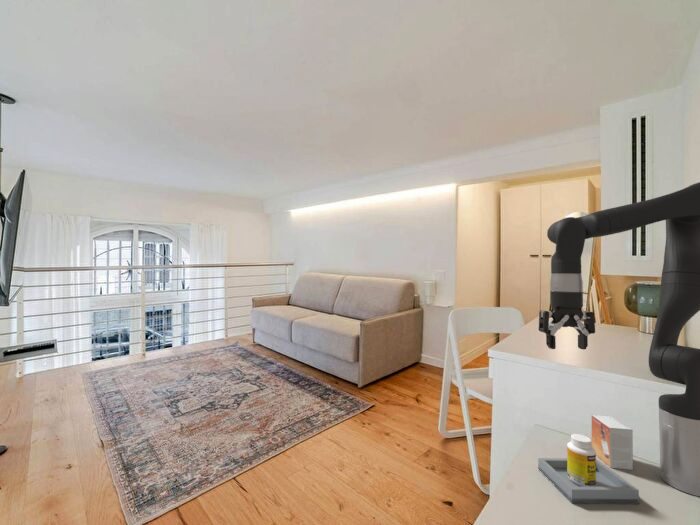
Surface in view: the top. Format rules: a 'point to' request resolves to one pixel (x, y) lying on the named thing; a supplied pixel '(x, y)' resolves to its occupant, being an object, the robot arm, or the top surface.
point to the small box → (612, 442)
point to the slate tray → (604, 492)
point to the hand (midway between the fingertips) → (566, 348)
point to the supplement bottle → (581, 461)
